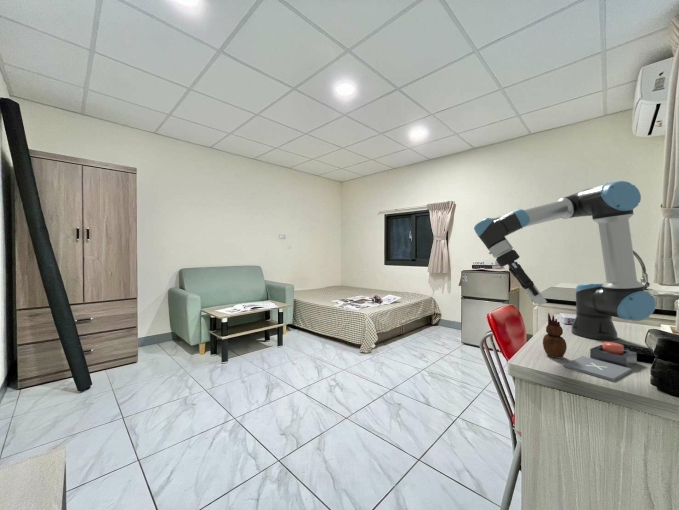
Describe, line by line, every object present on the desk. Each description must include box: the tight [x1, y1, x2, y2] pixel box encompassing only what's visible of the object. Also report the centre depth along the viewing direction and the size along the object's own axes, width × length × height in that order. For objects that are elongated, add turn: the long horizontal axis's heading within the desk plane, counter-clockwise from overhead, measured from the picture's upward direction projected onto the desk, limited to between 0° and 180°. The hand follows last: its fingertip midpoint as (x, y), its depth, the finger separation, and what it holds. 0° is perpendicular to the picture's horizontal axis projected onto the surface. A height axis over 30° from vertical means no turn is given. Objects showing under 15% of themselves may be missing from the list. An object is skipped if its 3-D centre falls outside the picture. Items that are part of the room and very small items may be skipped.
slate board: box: [562, 355, 632, 382], centre depth 88 cm, size 14×12×1 cm
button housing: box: [589, 344, 638, 368], centre depth 94 cm, size 9×9×4 cm
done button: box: [602, 341, 625, 355], centre depth 94 cm, size 5×5×3 cm
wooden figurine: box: [542, 312, 567, 359], centre depth 98 cm, size 7×6×15 cm
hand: (540, 302), depth 100 cm, fingers open, 13 cm apart
